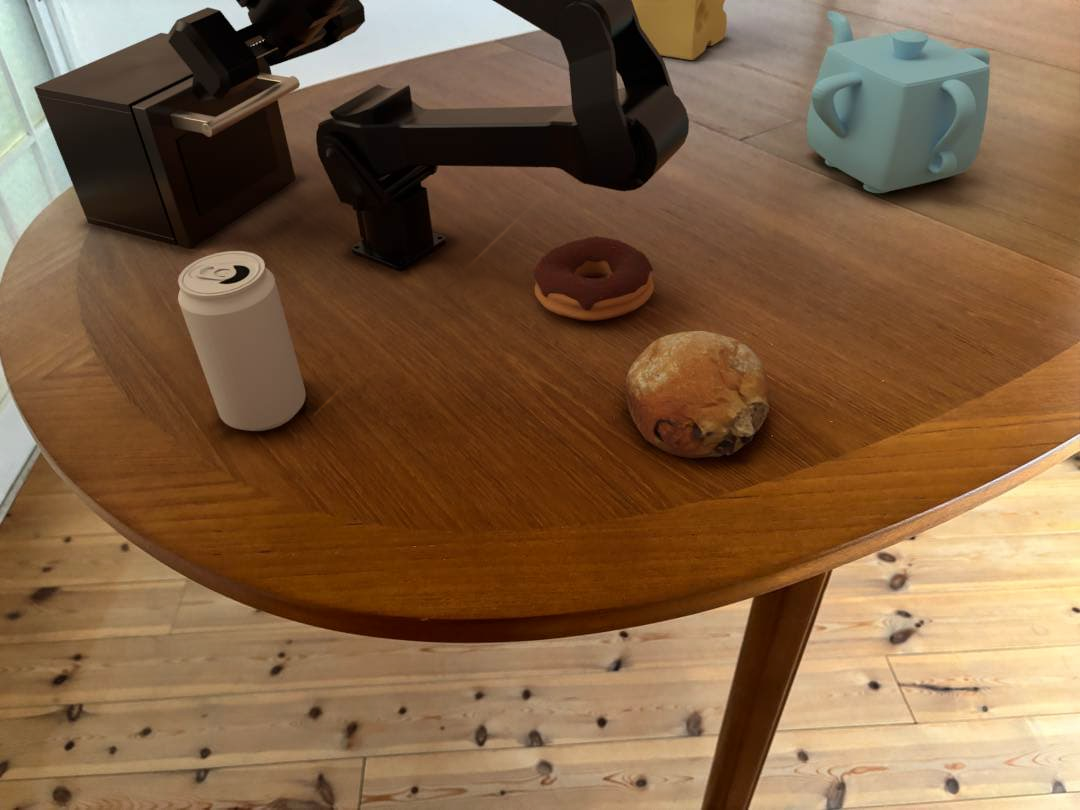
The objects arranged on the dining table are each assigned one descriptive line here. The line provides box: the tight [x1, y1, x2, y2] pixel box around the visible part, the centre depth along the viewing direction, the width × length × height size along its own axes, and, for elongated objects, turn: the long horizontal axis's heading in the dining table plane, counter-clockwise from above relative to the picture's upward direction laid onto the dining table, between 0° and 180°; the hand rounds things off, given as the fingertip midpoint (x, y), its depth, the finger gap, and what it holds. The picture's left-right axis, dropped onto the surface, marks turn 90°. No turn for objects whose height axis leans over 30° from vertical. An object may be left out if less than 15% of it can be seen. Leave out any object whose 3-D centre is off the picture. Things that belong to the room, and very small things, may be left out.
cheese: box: [632, 0, 728, 61], centre depth 122 cm, size 10×11×10 cm
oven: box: [33, 32, 252, 246], centre depth 91 cm, size 12×16×14 cm
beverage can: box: [177, 250, 307, 432], centre depth 64 cm, size 6×6×12 cm
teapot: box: [806, 10, 991, 194], centre depth 90 cm, size 18×16×14 cm
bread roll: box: [625, 330, 770, 459], centre depth 64 cm, size 10×10×8 cm
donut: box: [532, 235, 655, 322], centre depth 77 cm, size 10×10×4 cm
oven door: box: [132, 56, 301, 249], centre depth 88 cm, size 7×16×14 cm, turn 153°
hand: (233, 78), depth 83 cm, fingers open, 9 cm apart
